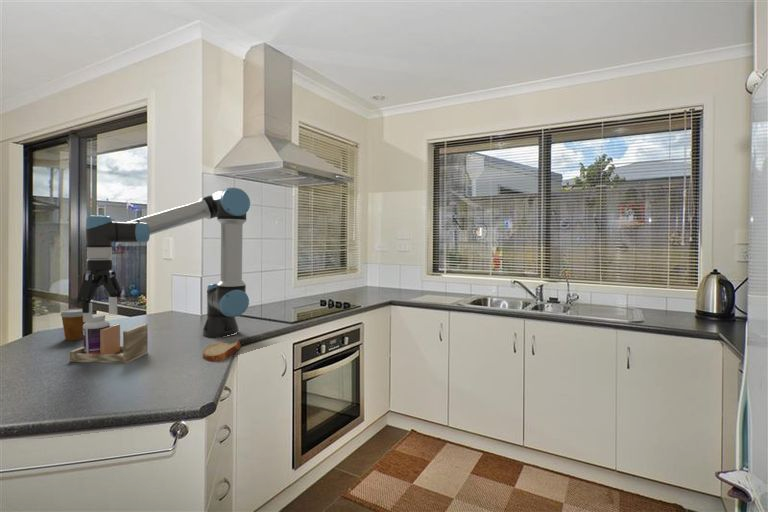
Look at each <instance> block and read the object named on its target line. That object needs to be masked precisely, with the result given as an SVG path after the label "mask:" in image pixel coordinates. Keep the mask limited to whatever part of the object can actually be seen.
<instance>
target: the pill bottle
mask: <svg viewBox="0 0 768 512" xmlns="http://www.w3.org/2000/svg"><path fill="white" fill-rule="evenodd" d="M92 318H93V322H86V323H85V324H84V325H83V339H82V341H83V346H84V354H100V330H101V329H104V328H107V327H110V326H111V325H110V322H109V321H108V320H107V319H106V314H105V313H94V314H93V313H92Z"/></svg>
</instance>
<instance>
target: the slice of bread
mask: <svg viewBox="0 0 768 512" xmlns="http://www.w3.org/2000/svg"><path fill="white" fill-rule="evenodd" d="M241 346H242V345H241V342H240V341H239V340H237V341H236V342H233V343H227V342H224V341H223V342H222V341H216V342H214V343H212V344H209V345H208V346H206V347H205V348H204V350H203V354H202V359H203V360H205V361H207V362H208V361H209V362H214V363H215V362H222V361H224V360H227V359H229V358H230V357H231V356H233V355H234V354H235V353H237V351H239V350H240V348H241Z"/></svg>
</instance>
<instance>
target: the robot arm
mask: <svg viewBox="0 0 768 512" xmlns="http://www.w3.org/2000/svg"><path fill="white" fill-rule="evenodd" d="M250 208H251V200H250V197H249V195H248V194H247V193H246V192H245V191H244V190H243V189H241V188H239V187H227V188H225V189H221V190H218V191H216V192H213V193H212V194H209V195H207V196H203V197H200V199H199V200H198V201H196V202H191V203H188V204H186V205H182V206H177V207H173V208H171V209H167V210H164V211H160V212H156V213H154V214H150V215H147V216H146V215H145V216H144V217H140V218H137V219H133V220H129V221H126V222H125V221H113V220H112V217H111V216H109V215H89V216H87V217H86V221H85V235H86V237H85V238H86V241H85V242H86V258H87V260H86V269H87V271H89V272H90V273H86V274H83V276H82V277H83V278H82V282H81V287H80V288H79V289H80V290H79V291H78V296H77V299H76V302H77V303H78V304H82V305H81V307H82V308H81V309H82V312H83V322H93V318H92V315H93V303H92V299H93V298H94V295H95V294H96V291H97V290H98V288H99V287H100V286H103V287H104V289H105V291H106V292H107V294H109V297H108V315H115V316H116V315H118V298H119V297H121V295H122V289H121V287H120V284H119V281H118V279H117V275H116V270H113V260H112V258H113V243H138V244H140V243H148V242H149V240H150V236H151V235H155V234H158V233H162V232H164V231H167V230H171V229H174V228H177V227H180V226H184V225H188V224H190V223H193V222H196V221H199V220H204V219H207V220H210V219H214V218H216V220H217V221H218V222H219V223H220V280H219V282H217V283H210V284H208V285H207V289H206V310H207V311H206V319H205V323H204V326H203V329H202V335H203V337H207V338H224V337H223V336H227V335H231V334H234V333H236V332H238V331H239V326H238V321H237V320H236V317H237V318H238V316H241V315H243V314H244V313H245V312H246V311H247V310H248V308H249V306H250V299H249V295H248V294H247V292H246V287H247V286H246V285H247V284H246V283H245V281H244V280H243V230H244V229H243V225H244V224H245V223H246V222H247V214H248V213H247V212H248V211H249V210H250ZM227 337H228V336H227Z"/></svg>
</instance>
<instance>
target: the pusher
mask: <svg viewBox="0 0 768 512" xmlns="http://www.w3.org/2000/svg"><path fill="white" fill-rule="evenodd" d="M120 346H121V324H119V323H118V324H114V325H110V327H107V328H104V329H101V330H100V354H115V353H117V352H119V351H120Z"/></svg>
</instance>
